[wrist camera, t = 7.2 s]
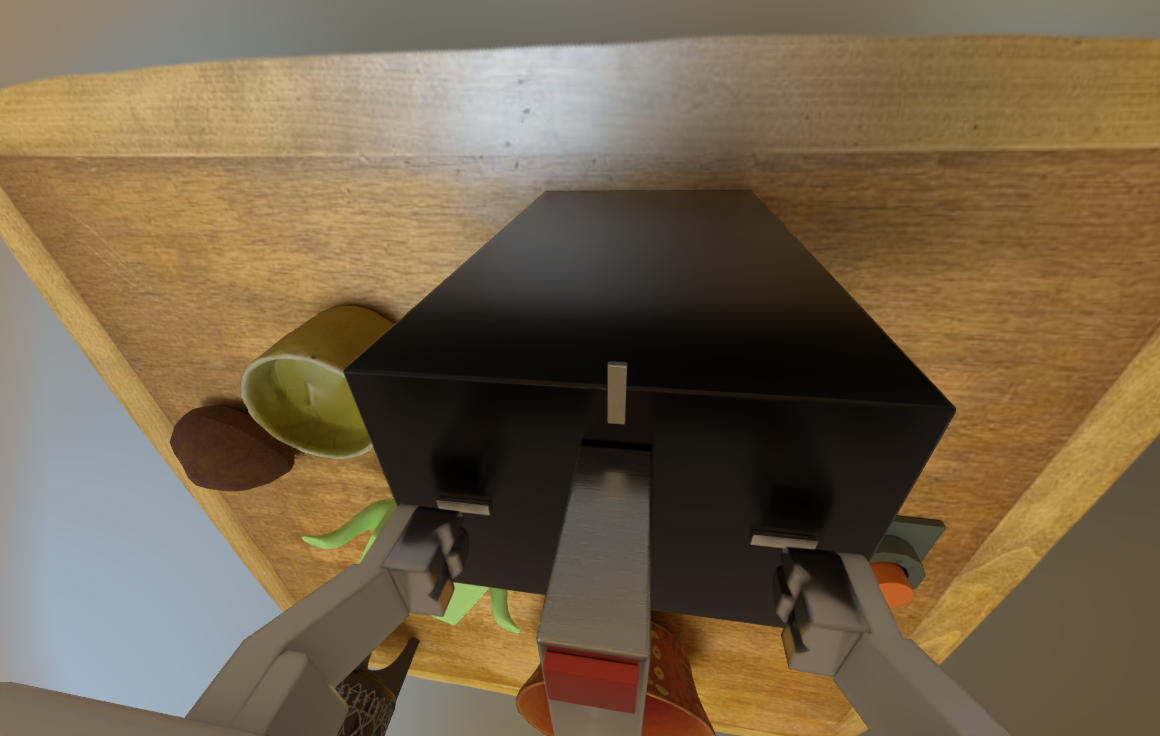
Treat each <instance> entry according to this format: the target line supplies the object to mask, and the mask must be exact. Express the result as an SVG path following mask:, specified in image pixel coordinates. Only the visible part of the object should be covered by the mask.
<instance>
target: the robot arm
mask: <svg viewBox="0 0 1160 736" xmlns="http://www.w3.org/2000/svg"><path fill="white" fill-rule="evenodd" d="M463 522H464V518H463V515H462V512H461V511H456V510H448V509H440V508H432V507H424V506H417V505H408V504H400V505H399V506H398V507H396V508H395V509H394V511H393V512H392V514H391V515H390V517H389V518H388V520H387V522H386V523H385V525H384V526H383V528H382V529H381V531H380V533H379V534H378V536H377V537H376V539H375V540H374V542H373V544H372V545H371V547H370V548H369V550H368V551H367V553H366V554H365V556H364V558H363V559H362V561H361V562H360V564H352V565H351V566H350V567H348V568H347V569H345V570H344V571H342V572H341V573H339V574H338V575H337V576H335V577H334V578H332V579H331V580H329V581H328V582H326V583H325V584H324V585H322V586H321V587H319V588H318V589H316V590H315V591H314V592H312V593H311V594H309V595H308V596H306V597H305V598H303V599H302V600H301V601H299V602H298V603H296V604H295V605H293V606H292V607H291V608H289V609H288V610H286V611H285V612H283V613H282V614H281V615H279V616H278V617H276V618H275V619H274V620H272V621H270V622H269V623H268V624H266V625H265V626H263V627H262V628H260V629H259V630H258V631H256V632H255V633H253V634H252V635H250V636H249V637H247V638H246V639H245V640H243V642H242V643H241V644H240V646H239V647H238V648H237V650H236V651H235V652H234V654H233V655H232V656H231V658H230V659H229V660H228V661H227V663H226V664H225V666H224V667H223V668H222V669H221V671H220V672H219V673H218V675H217V676H216V677H215V678H214V680H213V681H212V682H211V684H210V685H209V686H208V688H207V689H206V690H205V692H204V693H203V694H202V696H201V697H200V698H199V700H198V701H197V702H196V704H195V705H194V706H193V707H192V709H191V710H190V711H189V713H188V714H187V715H186V717H185V718H182V717H177V716H172V715H168V714H163V713H158V712H153V711H148V710H143V709H139V708H133V707H129V706H124V705H120V704H115V703H110V702H105V701H100V700H95V699H91V698H86V697H81V696H76V695H71V694H67V693H62V692H57V691H52V690H47V689H43V688H38V687H34V686H29V685H24V684H19V683H13V682H0V736H337V734H338V732H339V730H340V728H341V726H342V724H343V722H344V720H345V718H346V716H347V714H348V712H349V711H348V705H347V703H346V702H345V700H344V699H343V698H342V697H341V695H340V694H339V693H338V692H337V691H336V689H335V688H336V687H337V686H338V685H339V684H340V683H341V682H342V681H343V680H344V679H345V678H346V677H347V676H348V675H349V674H350V673H351V672H352V671H353V670H354V669H355V668H356V667H357V666H358V665H359V664H360V663H361V662H362V661H363V660H364V659H365V658H366V657H367V656H368V655H369V654H370V653H371V652H372V651H373V650H374V649H375V648H376V647H377V646H378V645H379V644H380V643H382V642H383V641H384V640H385V639H386V638H387V637H388V636H389V635H390V634H391V633H392V632H393V631H394V630H395V629H396V628H397V627H398V626H399V625H400V624H401V623H402V622H403V621H404V620H405V619H406V618H407V617H408V616H409V613H413V614H422V615H430V616H438V617H444V614H445V612H446V609H447V607H448V605H449V602H450V600H451V597H452V595H453V593H454V590H455V587H454V583H453V578H455V577H456V576H457V575H458V574H459V573H461V572H462V571H463V568H464V566H465V563H466V560H467V556H468V551H469V535H468V532H467V531H466V530H465V529H464V528H463V527H462V524H463ZM780 557H781V561H782V565H780V566H778V567H777V568H776V569H775V572H774V575H773V583H772V592H773V601H774V605H775V610H776V613H777V614H778V616H779V617H780V618H781V619H782V620H783V621H784V623H785V626H784V629H783V631H782V633H781V637H782V641H783V646H784V650H785V654H786V658H787V663H788V667H789V669H790V670H796V671H801V672H807V673H813V674H818V675H824V676H829V677H834V679H833V680H834V681H835V683H836V684H837V686H838V687H839V688H840V690H841V691H842V692H843V694H844V695H845V697H846V698H847V699H848V701H849V702H850V703H851V705H852V706H853V708H854V709H855V710H856V712H857V713H858V714H859V716H860V717H861V718H862V720H863V721H864V723H865V724H866V725H867V727H868V728H869V729H870V731H871V732H872V733H873V735H874V736H1012V735H1010V734H1009V733H1008V732H1007V731H1006V730H1005V729H1004V728H1003V727H1002V726H1001V725H1000V724H999V723H998V722H997V721H996V720H995V719H994V718H993V717H992V716H991V715H990V714H989V713H987V711H985V710H984V709H983V708H982V707H981V706H980V705H979V704H978V703H977V702H976V701H975V700H974V699H973V698H972V697H971V696H970V695H969V694H968V693H967V692H966V691H965V690H964V689H963V688H961V687H960V686H959V685H958V684H957V683H956V682H955V681H954V680H953V679H952V678H951V677H950V676H949V675H948V674H947V673H946V672H945V671H944V670H943V669H942V668H941V667H940V666H939V665H938V664H936V663H935V662H934V661H933V660H932V659H931V658H930V657H929V656H928V655H927V654H926V653H925V652H924V651H923V650H922V649H921V648H920V647H919V646H918V645H917V644H916V643H915V642H914V641H912V640H911V639H906V638H903V637H902V635H901V633H900V630H899V628H898V626H897V624H896V622H895V619H894V617H893V615H892V613H891V611H890V608H889V606H888V604H887V602H886V600H885V597H884V595H883V593H882V591H881V589H880V586H879V584H878V582H877V580H876V578H875V575H874V573H873V571H872V569H871V567H870V564H869V562H868V560H867V559H866V558H865V557H864V556H863V555H860V554H852V553H840V552H834V551H829V550H818V549H807V548H797V547H785V548H784V549H783V550H782V553H781V555H780Z"/></svg>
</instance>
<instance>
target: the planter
mask: <svg viewBox="0 0 1160 736" xmlns="http://www.w3.org/2000/svg"><path fill="white" fill-rule="evenodd" d="M418 644H419V640H417V639H415V638H412V639H410V640H409V641H408V643H407V645H406V646H405V648H404V650H403V651H402V653H401V654H400V655H399V657H398V658H397V659H396V660H395V661H394V662H393V663H392V664H391V665H389V666H388V667H386V668H384V669H381V670H376V671H375V670H369V669H368V663H369V659H370V656H371V653H372V652H371V653H370V654H369V655H368V656H367V657H366V658H365V659H364V660H363V661H362V662H361V663H360V664H359V665H358V666H357V667H356V668H355V669H354V670H353V671H352V672H351V673H350V674H349V675H348V676H347V677H346V678H345V679H344V680H343V681H342V682H341V683H340V684H339V685H338V686H337V687H336V688H335V689H336V691H337V692H338V693H339V694H340V695H341V697H342V698H343V699H344V700H345V702H346V703H347V705H348V711H349V712H348V714H347V716H346V718H345V720H344V722H343V724H342V726H341V728H340V730H339V732H338V734H337V736H385V733H386V730H387V728H388V725H389V723H390V720H391V717H392V715H393V712H394V710H395V705H396V700H397V697H398V695H399V692H400V690H401V687H402V685H403V682H404V680H405V677H406V674H407V672H408V669H409V667H410V664H411V662H412V659H413V657H414V654H415V651H416V649H417V646H418Z"/></svg>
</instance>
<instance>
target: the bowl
mask: <svg viewBox="0 0 1160 736" xmlns="http://www.w3.org/2000/svg"><path fill="white" fill-rule="evenodd" d="M516 706H517V710H518V712H519V713H520V714H521V715H522V716H523V717H524V719H525V720H527V722H528V723H530V724H531V725H532V726H534V727H535V728H536V729H537V730H539V731H540V732H542V733H543V734H545V735H546V736H554V731H553V726H552V720H551V715H550V710H549V704H548V699H547V693H546V688H545V683H544V677H543V672H542V667H541V663H540V665H539V666H538V668H537V669H536V671H535V672H534V673H533V674H532V676H531V677H530V678H529V679H528V680H527V682H526V683H525V684H524V685H523V687H522V688H521V689H520V691H519V693H518V695H517V699H516ZM641 736H716V735H715V732H714V729H713V727H712V725H711V723H710V721H709V719H708V717H707V715H706V713H705V711H704V709H703V706H702V704H701V702H700V699H699V697H698V694H697V691H696V687H695V684H694V681H693V677H692V672H691V667H690V663H689V658H688V656H687V653H686V650H685V649H684V647H683V645H682V644H681V643H680V642H679V641H678V640H677V638H676V637H675V636H674V635H672V634H671V633H670V632H668V631H667V630H666V629H664V628H663V627H661V626H660V625H658V624H656V623H653V622H651V656H650V664H649V673H648V682H647V690H646V699H645V708H644V716H643V725H642V733H641Z"/></svg>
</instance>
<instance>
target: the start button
mask: <svg viewBox="0 0 1160 736" xmlns="http://www.w3.org/2000/svg"><path fill="white" fill-rule="evenodd" d="M869 564H870V567H871V569H872V571H873V573H874V575H875V578H876V580H877V582H878V584H879V586H880V589H881V591H882V593H883V595H884V597H885V600H886V602H887V604H888V606H889V607H897V606H901V605H904V604H906V603H908V602H909V601H911V600H912V598H913V597H914V591H913V589H912V587H911V586H910V584H909V582H908V580H907V578H906V576H905V574H904V572H903V570H902V568H901V567H900V566H899V565H898V564H896V563H892V562H884V561H882V562H875V563H869Z"/></svg>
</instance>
